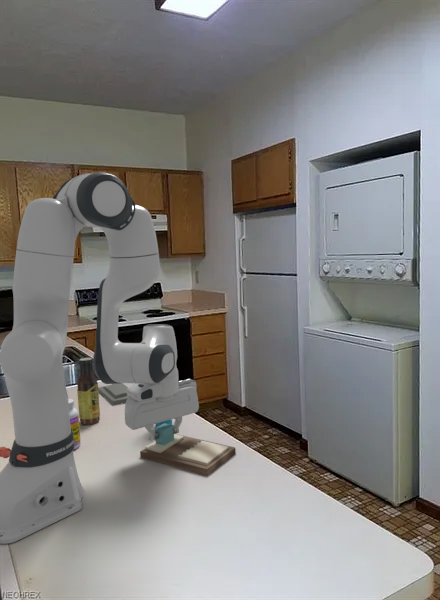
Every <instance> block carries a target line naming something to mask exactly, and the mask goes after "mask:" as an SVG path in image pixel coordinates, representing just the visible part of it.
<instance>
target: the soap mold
mask: <svg viewBox="0 0 440 600" xmlns="http://www.w3.org/2000/svg"><path fill="white" fill-rule="evenodd" d="M127 388H128V386H127V385H126V384H125V383H119V384H108V385H105V386H100V387H99V386H98V392H99V394H100V395H101V394H102V395H103V396H104V397H105V398H106V399H107V400H108V401H109V402H108V403H110V405H112V406H118V405H122V404H121V403H123V404H125V403H126V401H127V399H128V398H129V396H128V395H127V392H126V390H127ZM102 395H101V396H102ZM103 396H102V397H103ZM104 397H103V398H104ZM105 398H104V399H105ZM106 399H105V400H106ZM107 400H106V401H107ZM117 404H118V405H117Z"/></svg>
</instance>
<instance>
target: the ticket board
mask: <svg viewBox="0 0 440 600" xmlns="http://www.w3.org/2000/svg"><path fill="white" fill-rule="evenodd" d="M177 435H179V433H177ZM180 435H181V434H180ZM181 436H184V439H182V440H181V441H179V442H177V443H176V444H174V445H173V446H171V447H169V448H168V449H166V450H164V451H163V452H161V453H158V452H154V451H150V450H147V449H145V448H143V449H141V450H140V451H139V455H140V456H139V457H140V458H142V459H146V460H150V461H153V462H156V463H157V462H158V463H159V464H160V463H161V464H163V465H164V464H165V465H168V466H172V467H175V468H178V469H181V470H185V471H190V472H193V473H197V474H201V475H204V476H209V475H210V474H211V473H212V472H214V471H215V470H216V469H217V468H219V467H220V466H222V465H223V464H224V463H225V462H226V461H228V460H229V459H230V458H231V457H232V456H234V455H236V452H237V451H236V447H234V446H230V445H227V444H226V445H225V444H221V443H219V442H218V443H217V442H213V441H208V440H203V439H199V438H195V437H190V436H187V435H181Z"/></svg>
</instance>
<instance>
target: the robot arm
mask: <svg viewBox="0 0 440 600" xmlns="http://www.w3.org/2000/svg"><path fill="white" fill-rule="evenodd" d="M152 218H153V217H152V215H151V213H150V211H148V209H147V208H145V207H143V206H141V205H137V204H136V203H135V201H134V200H133V198H132V197H131V193H130V191H129V189H128V187H127V186H126V185H125V183H124V182H123V181H122V180H121V179H120V178H119V177H117V176H116V175H114V174H112V173H107V172H104V171H103V172H101V171H100V172H94V173H92V172H88V173H87V172H86V173H82V174H79V175H77V176H75V177H71V178H69V179H68V180H66V181H65V182H64V183H63V184H61V186H60V188H59V189H58V191H57V192H55V194H54V196H52V197H42V198H41V197H39V198H36V199H33V200H31V201H30V202H29V203H28V204H27V205H26V207H25V209H24V213H23V216H22V219H21V223H20V227H19V231H18V235H17V236H18V237H17V242H16V250H15V261H14V271H13V279H12V280H13V281H12V289H11V290H12V294H13V325H12V330H11V331H9V333H8V334H7V335H6V336H5V338H4V339H3V341H2V343H1V346H0V367H1V368H2V371H3V376H4V380H5V385H6V388H7V392H8V396H9V399H10V404H11V411H12V412H11V413H12V420H13V430H14V440H13V443H12V445H11V448H9V447H6V446H0V458H3V459H8V462H7V464H6V465H5V466H4V468H2V469H1V471H0V545H1V544H2V545H3V544H4V545H5V544H13V543H15V542H19V540H21V539H24V538H25V537H28V536H30V535H32V534H34V533H36V532H38V531H40V530H43V529H44V528H46V527H49V526H51V525H52V524H54V523H57V522H58V521H60V520H63V519H64V518H67V517H69V516H71V515H73V514H75V513H77V512H79V511H80V510H82V509H83V506H82V505H83V504H82V499H83V497H84V495H85V490H84V488H83V486H82V483H81V480H80V476H79V473H78V469H77V466H76V465H77V464H76V460H75V454H74V450H75V449H74V436H73V431H72V430H71V426H70V414H69V402H68V399H69V394H68V391H67V386H66V379H65V378H66V377H65V371H64V365H63V355H64V351H65V349H66V345H67V334H68V326H69V325H68V323H69V310H70V309H69V308H70V295H71V285H72V278H73V268H74V259H75V250H76V249H75V248H76V247H75V246H76V240H77V237H78V235H79V233H80V232H81V230H82V229H83V228H84V227H88V228H89V227H90V228H100V229H101V231H102V232H103V233H104V234H105V237H106V240H107V243H108V253H109V269H108V273H107V275H106V277H105V278H104V279H102V280H101V282H100V284H99V288H98V291H97V292H98V293H97V306H96V307H97V308H96V329H95V331H96V332H95V346H94V352H93V358H92V360H93V363H92V367H93V373H94V375H95V377H97V379H99V380H100V381H101V382H102V383H103V384H105V385H112V384H119V383H123V384H131V385H130V386H129V387H128V386H127V387H128V388H127V390H126V392H127V395H128V396H129V398H128V399H127V401H126V403H124V404H125V405H124V424H125V425H126V426H127V427H128V428H129V429H131V430H132V431H133V430H134V431H135V430H139V429H142V428H145V429H146V430H147V432H148V433H149V439H150V440H151V441H152V442H154V441H155V440H157V439H158V437H157V436H158V433H156V432H155V430H153V429H154V425H156V424H157V423H160V422H164V421H167V420H171V419H172V420H174V422H173V424H172V425H173V428H174V434H179V433H180V426H181V424H182V421H183V417H185V416H189V415H192V414H195V413H197V412H198V411H199V408H200V405H199V399H198V398H199V397H198V393H197V382H196V380H194V379H191V378H187V379H184V380H179V370H178V368H177V360H178V349H177V340H176V336H175V335H176V334H175V330H174V327H173V326H172V325H170V324H165V323H164V324H159V323H158V324H156V323H155V324H152V323H150V324H146V325H144V326H143V330H142V340H141V342H122V341H120V340H119V337H118V336H119V316H120V315H119V314H120V308H121V305H122V304H123V303H124V302H125V301H126V300H129V299H130V298H132V297H135V296H137V295H140V294H142V293H144V292H145V291H147V290H148V289H150V288H151V287H153V285H154V284H155V283H156V281H157V280H158V277H159V275H160V266H161V265H160V263H161V262H160V253H159V246H158V245H159V244H158V239H157V233H156V230H155V225H154V222H153V219H152ZM73 449H74V450H73Z"/></svg>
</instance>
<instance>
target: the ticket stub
mask: <svg viewBox="0 0 440 600" xmlns="http://www.w3.org/2000/svg"><path fill="white" fill-rule="evenodd" d="M173 425H174V424H172V425H171V424H166V423H164V424H162V425H160V426H158V427H157V426H156V427H155V428H154V431H155V432H156V433H158V436H157V437H158V439H157V440H154V441H152V442H151V443H149V444H148V445H146V446H144V449H147V450H150V451H154V452H158V453H161V452H163V451H164V450H166V449H168V448H169V447H171V446H173V445H174V444H176V443H177V442H179V441H181V440H182V439H184V436H185V435H183V436H181V434H178V433H177V434H178V435H177V434H174V428H173Z"/></svg>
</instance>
